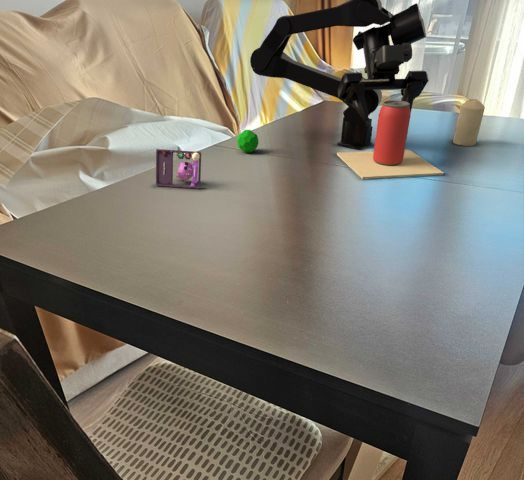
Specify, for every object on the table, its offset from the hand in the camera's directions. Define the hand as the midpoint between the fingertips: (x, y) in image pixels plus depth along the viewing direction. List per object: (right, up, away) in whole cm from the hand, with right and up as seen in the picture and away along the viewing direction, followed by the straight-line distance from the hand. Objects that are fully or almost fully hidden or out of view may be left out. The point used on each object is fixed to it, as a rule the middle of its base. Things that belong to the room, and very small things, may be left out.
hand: (387, 120), depth 109 cm
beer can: (+1, -8, +3) cm, 9 cm away
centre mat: (+1, -8, +3) cm, 9 cm away
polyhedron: (-31, -3, +11) cm, 33 cm away
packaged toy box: (-43, -17, -8) cm, 47 cm away
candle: (+24, +2, +18) cm, 30 cm away
